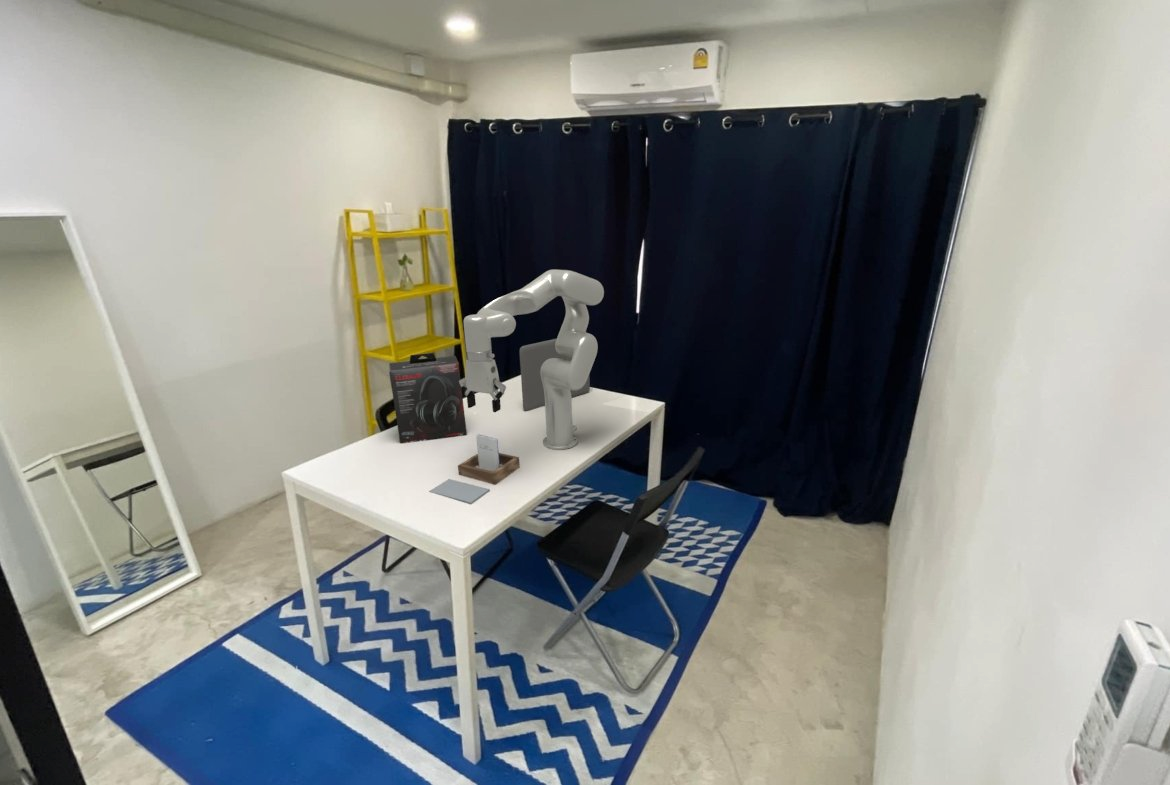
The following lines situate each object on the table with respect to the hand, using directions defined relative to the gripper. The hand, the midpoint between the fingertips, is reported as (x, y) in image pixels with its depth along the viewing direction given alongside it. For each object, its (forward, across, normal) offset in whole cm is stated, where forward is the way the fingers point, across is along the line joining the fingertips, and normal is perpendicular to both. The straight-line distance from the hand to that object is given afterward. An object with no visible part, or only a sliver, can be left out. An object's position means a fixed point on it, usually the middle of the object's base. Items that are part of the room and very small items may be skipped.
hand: (484, 408), depth 174 cm
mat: (+22, 0, +15) cm, 27 cm away
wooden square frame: (+22, 0, 0) cm, 22 cm away
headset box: (+22, +38, -15) cm, 47 cm away
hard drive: (+22, 0, 0) cm, 22 cm away
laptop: (+23, +27, -73) cm, 81 cm away
